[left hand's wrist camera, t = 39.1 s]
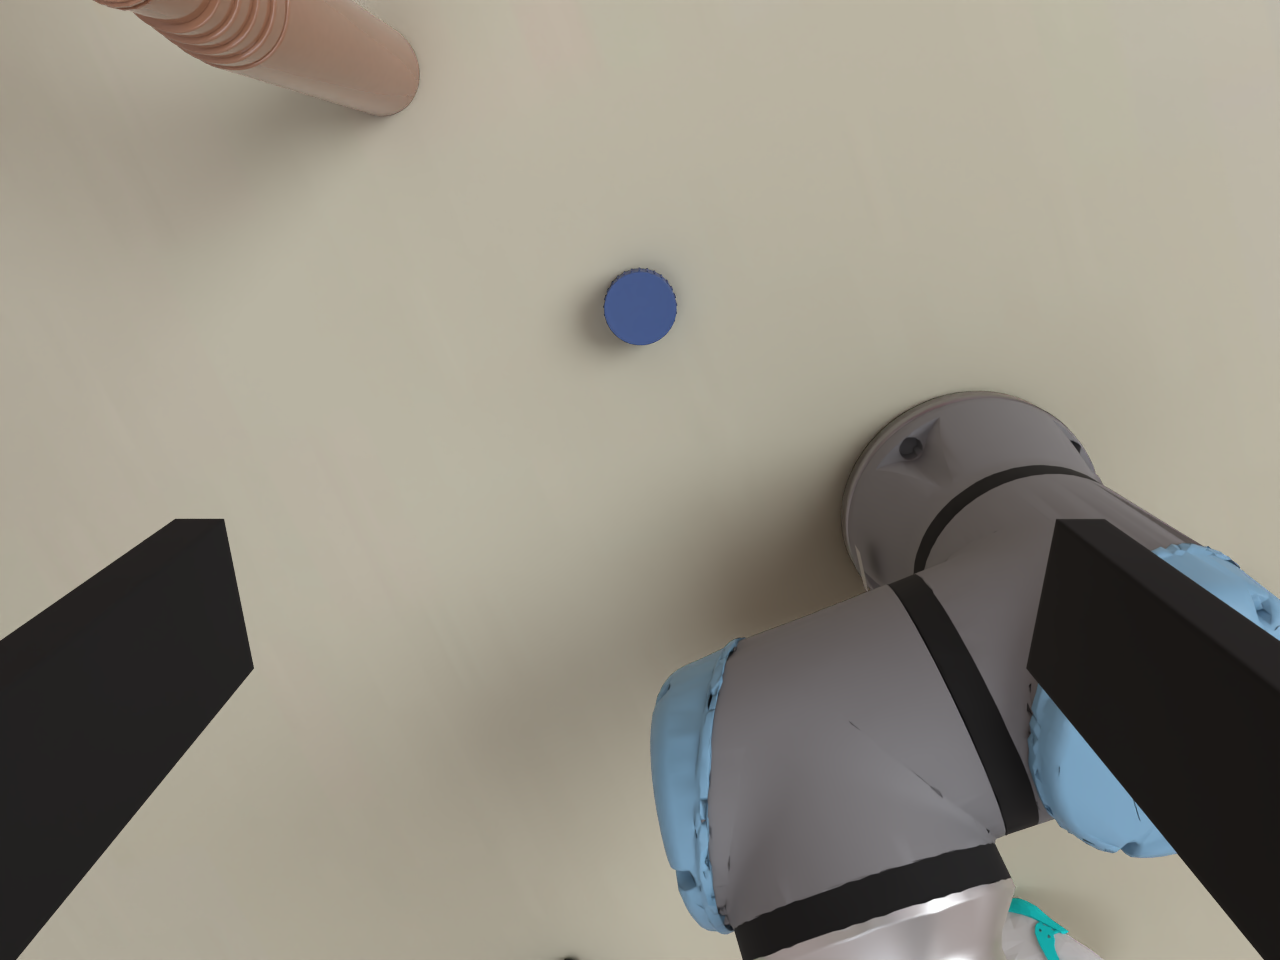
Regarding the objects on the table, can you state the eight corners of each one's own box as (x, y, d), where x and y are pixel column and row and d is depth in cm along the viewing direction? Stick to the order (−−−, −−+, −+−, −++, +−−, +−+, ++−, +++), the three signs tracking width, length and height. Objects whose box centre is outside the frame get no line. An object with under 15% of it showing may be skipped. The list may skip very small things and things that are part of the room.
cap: (604, 338, 46) (602, 345, 44) (605, 266, 45) (603, 269, 43) (674, 340, 46) (675, 347, 44) (677, 268, 45) (678, 271, 43)
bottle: (320, 74, 41) (-17, -53, 20) (367, 3, 40) (63, -212, 19) (388, 134, 42) (136, 73, 21) (436, 66, 41) (220, -71, 20)
